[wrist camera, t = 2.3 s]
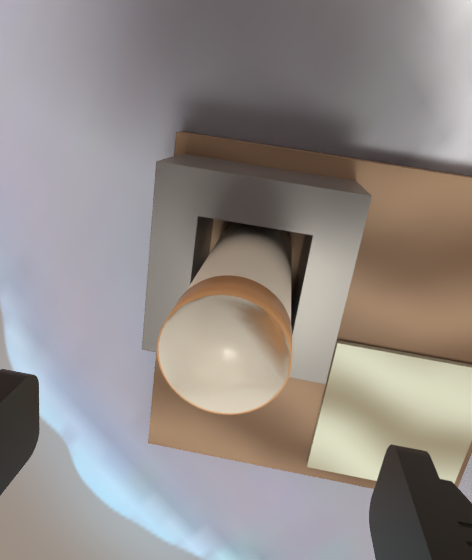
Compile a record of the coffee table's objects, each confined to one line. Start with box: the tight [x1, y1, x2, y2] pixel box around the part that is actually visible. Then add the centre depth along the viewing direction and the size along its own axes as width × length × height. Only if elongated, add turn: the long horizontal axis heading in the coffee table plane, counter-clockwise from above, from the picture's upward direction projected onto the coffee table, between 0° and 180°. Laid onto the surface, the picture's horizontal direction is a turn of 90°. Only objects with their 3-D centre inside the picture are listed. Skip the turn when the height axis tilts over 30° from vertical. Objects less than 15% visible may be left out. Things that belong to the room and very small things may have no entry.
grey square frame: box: [142, 154, 372, 384], centre depth 22 cm, size 9×9×5 cm
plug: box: [157, 222, 292, 415], centre depth 19 cm, size 4×4×12 cm
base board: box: [148, 132, 472, 489], centre depth 26 cm, size 20×20×2 cm
